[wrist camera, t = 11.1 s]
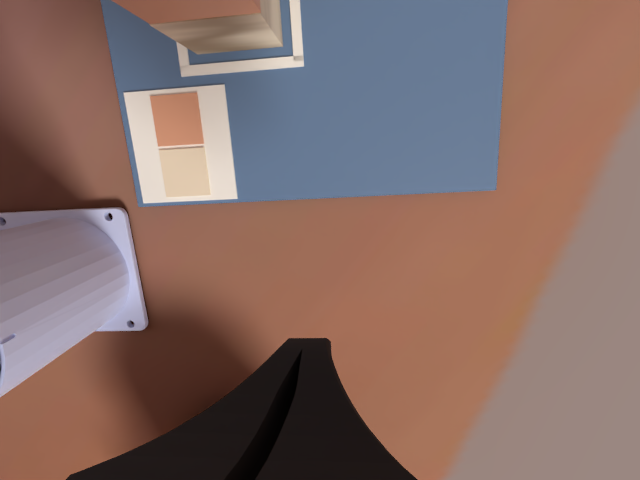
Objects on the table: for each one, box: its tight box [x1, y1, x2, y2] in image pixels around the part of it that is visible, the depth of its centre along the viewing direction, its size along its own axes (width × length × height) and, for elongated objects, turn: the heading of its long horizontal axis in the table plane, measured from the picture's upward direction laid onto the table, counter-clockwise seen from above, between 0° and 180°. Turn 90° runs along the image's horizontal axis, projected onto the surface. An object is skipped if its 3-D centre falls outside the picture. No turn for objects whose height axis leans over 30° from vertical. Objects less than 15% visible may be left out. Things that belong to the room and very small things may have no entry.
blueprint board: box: [101, 0, 508, 207], centre depth 18 cm, size 20×14×1 cm
